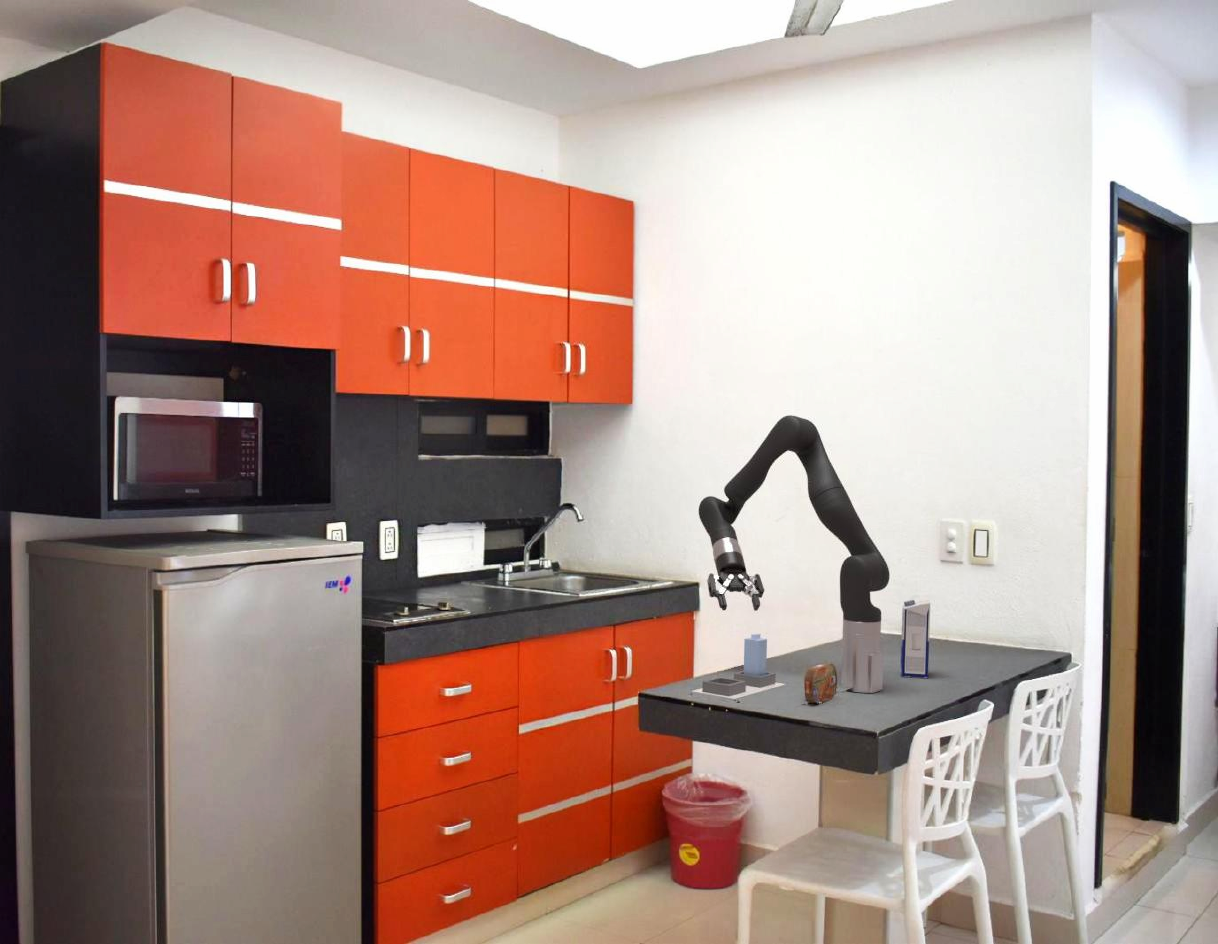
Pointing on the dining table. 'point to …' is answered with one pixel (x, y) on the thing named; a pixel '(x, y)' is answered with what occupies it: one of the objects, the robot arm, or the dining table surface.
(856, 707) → the dining table surface
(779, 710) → the dining table surface
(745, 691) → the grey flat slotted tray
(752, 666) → the plug
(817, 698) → the tin
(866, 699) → the dining table surface
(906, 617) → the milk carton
